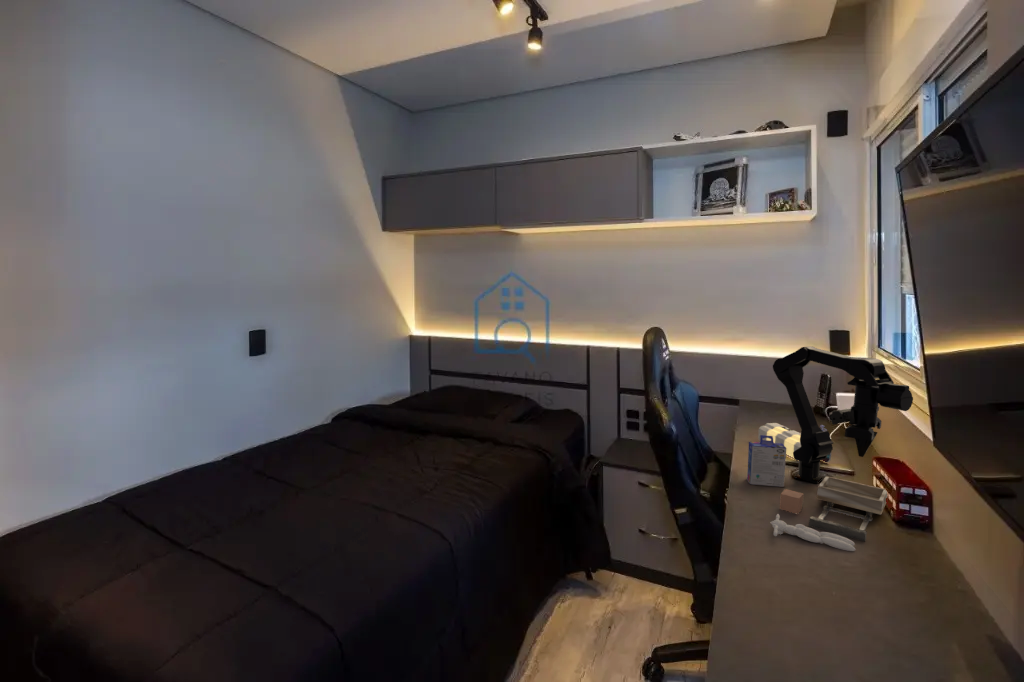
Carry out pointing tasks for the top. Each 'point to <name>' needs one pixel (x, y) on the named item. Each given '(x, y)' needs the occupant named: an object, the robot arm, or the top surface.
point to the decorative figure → (812, 535)
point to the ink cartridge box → (766, 462)
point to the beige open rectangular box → (852, 495)
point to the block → (791, 501)
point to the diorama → (785, 437)
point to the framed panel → (839, 528)
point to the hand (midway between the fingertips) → (861, 456)
